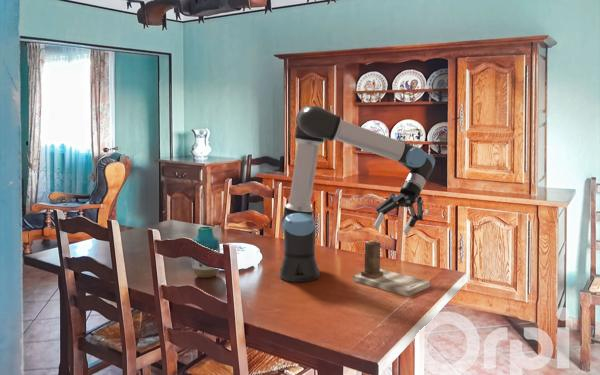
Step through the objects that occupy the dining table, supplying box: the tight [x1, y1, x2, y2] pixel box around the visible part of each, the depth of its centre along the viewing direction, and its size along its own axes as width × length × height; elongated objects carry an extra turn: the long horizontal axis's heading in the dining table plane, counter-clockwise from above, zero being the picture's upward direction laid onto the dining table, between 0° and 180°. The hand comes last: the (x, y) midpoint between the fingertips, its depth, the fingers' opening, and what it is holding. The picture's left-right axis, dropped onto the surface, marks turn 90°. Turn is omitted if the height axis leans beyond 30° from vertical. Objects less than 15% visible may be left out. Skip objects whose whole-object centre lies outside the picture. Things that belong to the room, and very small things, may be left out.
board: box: [352, 268, 431, 297], centre depth 198 cm, size 24×14×2 cm, turn 46°
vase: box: [191, 225, 221, 279], centre depth 205 cm, size 11×11×19 cm
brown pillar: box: [360, 239, 383, 279], centre depth 200 cm, size 6×6×13 cm
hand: (390, 230), depth 207 cm, fingers open, 13 cm apart
